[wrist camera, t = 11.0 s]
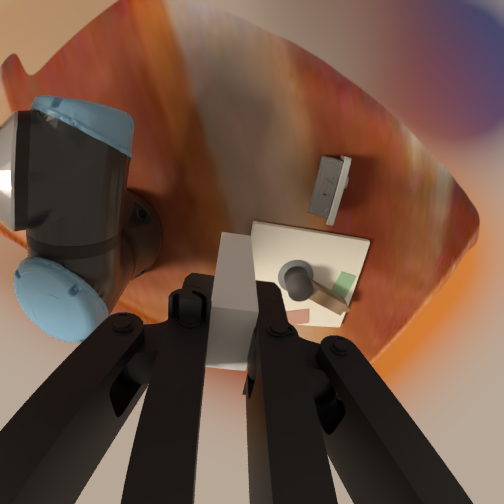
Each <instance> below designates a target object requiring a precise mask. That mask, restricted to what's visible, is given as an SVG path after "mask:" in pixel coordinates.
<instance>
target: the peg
mask: <svg viewBox="0 0 504 504" xmlns="http://www.w3.org/2000/svg"><path fill="white" fill-rule="evenodd" d="M284 280H285V284H286V288H287V291H288V295H289V297H290V298H291V299H292V300H294V301H297V302H302V301H305V300H307V299H310V300H312V301H314V302H315V303H317V304H319V305H321V306H323V307H325V308H327V309H329V310H330V311H332V312H334V313H336V314H338V315H340V316H341V314H342V313H343V312H346V313H348V312H349V310H350V308H349V307H348V305H347V303H346V301H345V299H344V298H343V297H341V296H340V295H338V294H336V293H335V292H333V291H331V290H329V289H328V288H326V287H324V286H322V285H321V284H319V283H317V282H315V281H314V280H312V279H310V278H309V275H308V273H307V271H306V270H305V269H304V268H303V267H300V266H294V267H291V268H290V269H288V270H287V271H286V273H285V275H284Z"/></svg>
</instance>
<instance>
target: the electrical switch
mask: <svg viewBox="0 0 504 504" xmlns="http://www.w3.org/2000/svg"><path fill="white" fill-rule="evenodd" d="M350 164H351V158H349V157H347V156H343V155H341V157H340V160H339V159H336V158H333V157H329V156H325V155H322V159H321V163H320V167H319V171H318V174H317V178H316V182H315V186H314V190H313V194H312V197H311V201H310V204H309V208H308V212H309V213H313V214H316V215H318V216H321V217H324V218H327V223H326V224H327V225H331V226H333V224H334V221H335V218H336V214H337V211H338V208H339V204H340V201H341V197H342V194H343V190H344V188H346V187H347V185H348V181H349V177H347V176H348V172H349V168H350ZM326 180H327V181H326Z"/></svg>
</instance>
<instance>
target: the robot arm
mask: <svg viewBox="0 0 504 504" xmlns="http://www.w3.org/2000/svg"><path fill="white" fill-rule="evenodd" d="M30 108H32V110H28V111H14V112H13V113H12V114H11V115H10V116H9V117H8V118H7V119H6V121H5V122H4V123H3V124H2V125H0V222H1V223H2V224H3V225H4V226H5V227H6V228H8V229H9V230H10V231H11V232H14V231H20V230H26V238H27V250H28V257H27V258H25V259H24V260H22V261H21V262H20V263H19V266H18V269H17V270H16V271H15V274H14V290H15V293H16V297H17V299H18V301H19V303H20V305H21V307H22V309H23V310H24V312H25V313H26V314H27V316H28V317H29V318H30V319H31V320H32V321H33V322H34V323H35V324H36V325H37V326H38V327H39V328H40V329H42V330H43V331H44V332H46V333H47V334H49V335H51V336H53V337H55V338H57V339H59V340H62V341H65V342H70V343H81V344H80V345H79V346H78V347H77V348H76V349H75V350H74V351H73V352H72V353H71V354H70V355H69V356H68V357H67V358H66V359H65V360H64V361H63V362H62V363H61V365H59V367H58V368H57V369H56V370H55V371H54V372H53V373H52V374H51V375H50V376H49V377H48V378H47V379H46V380H45V381H44V382H43V383H42V385H41V386H40V387H39V388H38V389H37V390H36V391H35V392H34V393H33V394H32V395H31V397H30V398H29V399H28V400H27V401H26V402H25V403H24V404H23V406H22V407H21V408H20V409H19V410H18V411H17V412H16V414H15V415H14V416H13V417H12V418H11V419H10V420H9V422H8V423H7V424H6V425H5V426H4V427H3V429H2V430H1V431H0V504H74V503H75V502H76V500H77V499H78V497H79V495H80V494H81V492H82V490H83V489H84V487H85V486H86V484H87V482H88V481H89V479H90V477H91V476H92V474H93V472H94V471H95V469H96V468H97V466H98V464H99V463H100V461H101V459H102V458H103V456H104V455H105V453H106V451H107V450H108V448H109V447H110V445H111V443H112V442H113V440H114V439H115V437H116V435H117V434H118V432H119V430H120V429H121V427H122V426H123V424H124V423H125V421H126V420H127V418H128V416H129V415H130V413H131V412H132V410H133V408H134V407H135V405H136V404H137V402H138V400H139V399H140V397H141V396H142V394H143V393H144V391H145V389H146V388H147V386H148V389H147V392H146V395H145V399H144V403H143V407H142V411H141V414H140V418H139V423H138V427H137V431H136V435H135V439H134V443H133V448H132V452H131V456H130V461H129V465H128V470H127V474H126V479H125V484H124V489H123V494H122V499H121V504H194V496H195V494H194V493H195V480H196V465H197V452H198V440H199V428H200V417H201V406H202V396H203V386H204V376H205V375H204V374H205V367H213V368H222V369H231V370H242V371H245V370H246V367H247V365H248V373H247V377H246V382H245V386H244V390H243V395H245V394H246V415H247V443H248V444H247V445H248V472H249V495H250V504H338V502H337V498H336V493H335V488H334V483H333V479H332V474H331V469H330V465H329V460H328V456H329V458H330V460H331V462H332V463H333V466H334V468H335V470H336V471H337V473H338V475H339V477H340V479H341V480H342V483H343V484H344V486H345V488H346V490H347V492H348V494H349V495H350V497H351V499H352V501H353V503H354V504H473V503H472V501H471V500H470V498H469V497H468V496H467V494H466V492H465V491H464V490H463V488H462V487H461V485H460V484H459V483H458V481H457V480H456V479H455V477H454V476H453V475H452V473H451V471H450V470H449V469H448V467H447V466H446V465H445V463H444V462H443V460H442V459H441V458H440V456H439V455H438V454H437V452H436V451H435V449H434V448H433V446H432V445H431V444H430V442H429V441H428V440H427V438H426V437H425V436H424V434H423V433H422V431H421V430H420V429H419V427H418V426H417V425H416V424H415V422H414V421H413V419H412V418H411V417H410V415H409V414H408V413H407V411H406V410H405V409H404V408H403V406H402V405H401V403H400V402H399V401H398V400H397V398H396V397H395V396H394V394H393V393H392V392H391V390H390V389H389V388H388V387H387V385H386V384H385V383H384V381H383V380H382V379H381V377H380V376H379V375H378V373H377V372H376V371H375V370H374V368H373V367H372V366H371V364H370V363H369V362H368V361H367V359H366V358H365V357H364V355H363V354H362V353H361V352H360V350H359V349H358V348H357V346H356V345H355V344H354V343H353V342H351V341H350V340H348V339H346V338H344V337H341V336H327V337H325V338H324V339H323V340H322V341H321V343H320V344H319V343H315V342H311V341H308V340H305V339H303V338H301V337H299V336H298V332H297V330H296V329H295V327H294V326H292V325H291V324H290V323H289V322H288V318H287V314H286V309H285V305H284V301H283V298H282V293H281V289H280V288H279V287H278V286H277V285H276V284H275V282H267V281H259V280H255V270H254V260H253V250H252V241H251V236H249V235H241V234H234V233H227V232H222V234H221V240H220V246H219V252H218V258H217V265H216V271H215V276H213V275H205V274H198V273H191V274H190V275H188V276H187V277H186V278H185V280H184V283H183V286H182V289H177V290H175V291H174V292H172V293H171V294H170V295H169V304H168V320H167V321H165V322H162V323H158V324H146V325H143V321H142V320H141V319H140V317H138V316H136V315H135V314H131V313H127V312H125V313H116V314H113V315H110V313H111V311H112V310H113V308H114V306H115V305H116V303H117V301H118V299H119V298H120V296H121V294H122V293H123V291H124V289H125V288H126V286H127V285H128V283H129V281H130V280H132V279H134V278H136V277H138V276H140V275H142V274H144V273H145V272H146V271H147V270H148V269H150V267H151V266H152V265H153V264H154V262H155V260H156V259H157V257H158V255H159V253H160V251H161V247H162V242H163V232H162V226H161V223H160V220H159V218H158V215H157V213H156V212H155V210H154V209H153V207H152V206H151V205H150V204H149V203H148V202H147V201H146V200H145V199H144V198H143V197H141V196H140V195H138V194H136V193H134V192H131V191H128V190H126V188H127V180H128V173H129V166H130V160H131V159H132V157H133V154H132V152H131V150H132V142H133V134H134V121H133V119H132V117H131V116H130V115H129V114H128V113H127V112H125V111H123V110H120V109H117V108H114V107H110V106H106V105H102V104H98V103H94V102H89V101H84V100H78V99H72V98H62V97H54V96H46V95H40V96H37V97H36V98H35V99H34V101H33V102H32V104H31V106H30ZM109 315H110V316H109ZM148 384H149V385H148ZM327 454H328V456H327Z"/></svg>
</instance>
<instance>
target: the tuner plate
mask: <svg viewBox="0 0 504 504" xmlns="http://www.w3.org/2000/svg"><path fill="white" fill-rule="evenodd" d="M250 236H251V241H252V250H253V260H254V270H255V280H259V281H267V282H275V284H276V285H277V286H278V287H279V288H280V289H281V293H282V298H283V301H284V305H285V309H286V314H287V318H288V322H289V323H290V324H291V325H310V326H326V327H340V325H341V323H342V320H343V318H344V315H345V313H346V312H343V313H342V314H341V316H340V315H338V314H336V313H334V312H332V311H330V310H329V309H327V308H325V307H323V306H321V305H319V304H317V303H315V302H314V301H312V300H310V299H307V300H305V301H302V302H297V301H294V300H292V299H291V298H290V297H289V295H288V291H287V288H286V284H285V280H284V275H285V273H286V271H287V270H288V269H290V268H291V267H294V266H300V267H303V268H304V269H305V270H306V271H307V273H308V275H309V278H310V279H312V280H314V281H315V282H317V283H319V284H321V285H322V286H324V287H326V288H328V289H329V290H331V291H333V292H335V293H336V294H338V295H340V296H341V297H343V298H344V299H345V301H346V303H347V305H349V302H350V300H351V297H352V294H353V292H354V289H355V286H356V283H357V281H358V278H359V275H360V272H361V269H362V266H363V263H364V260H365V257H366V254H367V251H368V248H369V245H370V241H369V240H368V239H363V238H358V237H352V236H346V235H340V234H334V233H328V232H322V231H316V230H310V229H304V228H297V227H291V226H285V225H278V224H271V223H265V222H258V221H253V223H252V229H251V235H250Z"/></svg>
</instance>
